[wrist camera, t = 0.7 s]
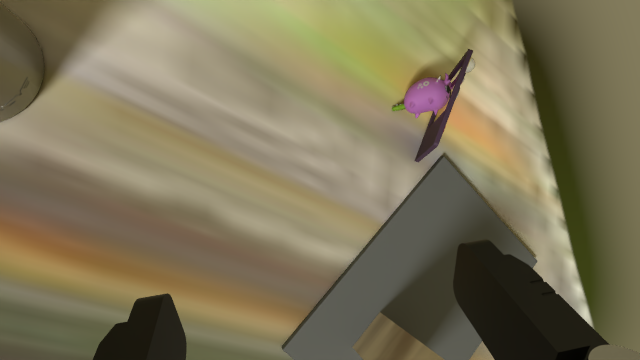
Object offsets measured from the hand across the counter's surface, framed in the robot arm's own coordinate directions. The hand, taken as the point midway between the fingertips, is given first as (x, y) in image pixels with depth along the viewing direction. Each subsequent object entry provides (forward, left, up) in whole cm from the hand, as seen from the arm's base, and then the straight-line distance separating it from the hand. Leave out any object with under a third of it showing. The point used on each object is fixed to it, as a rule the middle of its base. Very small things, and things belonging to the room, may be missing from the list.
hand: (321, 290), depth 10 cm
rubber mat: (+18, +6, -22) cm, 29 cm away
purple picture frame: (+5, +19, -22) cm, 30 cm away
